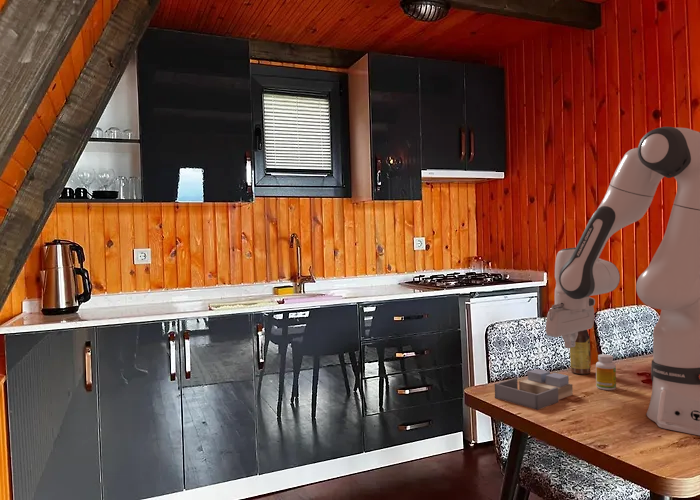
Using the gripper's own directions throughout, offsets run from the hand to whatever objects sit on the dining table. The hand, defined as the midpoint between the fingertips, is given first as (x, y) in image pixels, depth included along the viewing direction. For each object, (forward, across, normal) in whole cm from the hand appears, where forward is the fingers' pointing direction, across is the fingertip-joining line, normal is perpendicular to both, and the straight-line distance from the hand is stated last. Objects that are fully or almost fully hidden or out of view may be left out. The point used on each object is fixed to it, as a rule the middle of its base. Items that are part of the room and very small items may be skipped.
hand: (569, 347), depth 161 cm
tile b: (+10, -8, +5) cm, 13 cm away
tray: (+12, -19, +2) cm, 23 cm away
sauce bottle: (+13, +18, +7) cm, 23 cm away
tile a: (+9, -8, -1) cm, 12 cm away
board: (+12, -9, +2) cm, 16 cm away
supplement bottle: (+12, +8, -7) cm, 16 cm away
